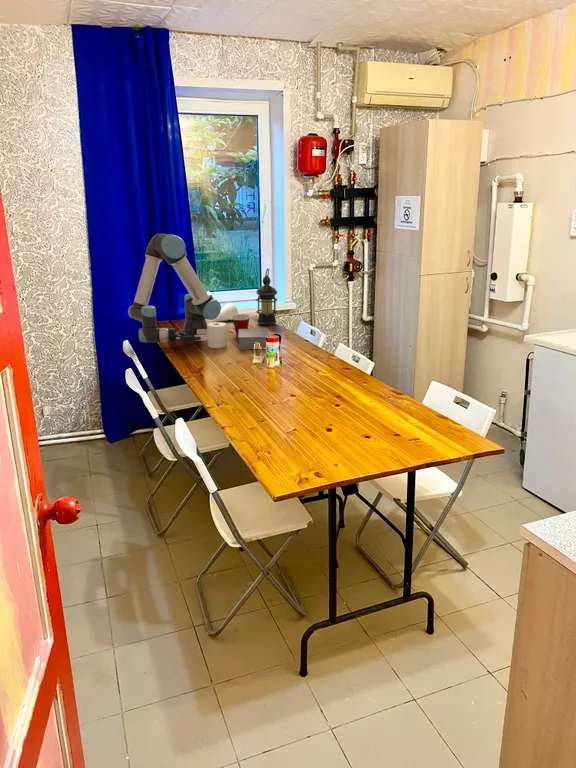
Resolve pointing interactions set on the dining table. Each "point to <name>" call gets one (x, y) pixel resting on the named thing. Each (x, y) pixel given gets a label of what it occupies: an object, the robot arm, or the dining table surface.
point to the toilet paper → (217, 335)
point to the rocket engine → (226, 313)
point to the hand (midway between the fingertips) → (208, 334)
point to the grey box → (252, 338)
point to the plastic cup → (240, 322)
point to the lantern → (266, 302)
